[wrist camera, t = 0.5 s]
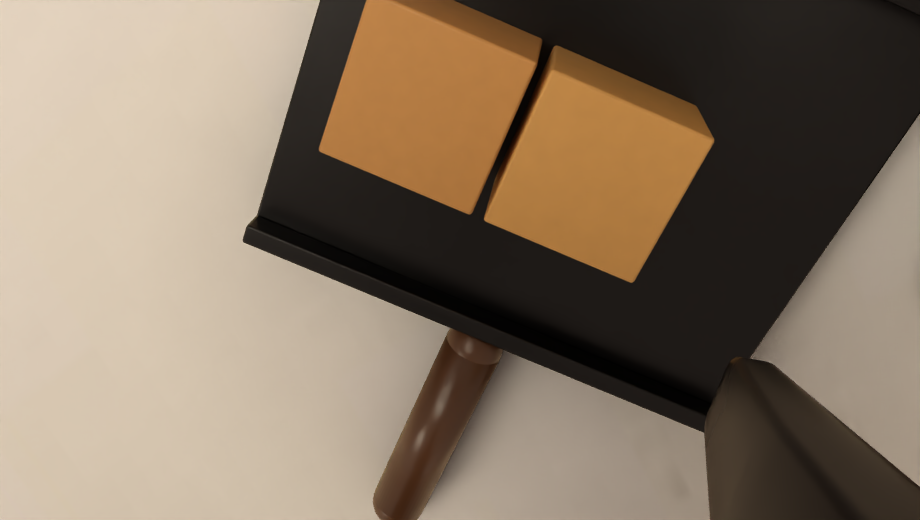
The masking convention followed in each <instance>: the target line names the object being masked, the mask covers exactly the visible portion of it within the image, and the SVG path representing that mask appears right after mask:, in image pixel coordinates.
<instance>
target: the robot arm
mask: <svg viewBox="0 0 920 520" xmlns="http://www.w3.org/2000/svg"><path fill="white" fill-rule="evenodd" d="M704 436H705V451H706V466H707V481H708V496H709V511H710V520H920V487H919V486H918V485H917V484H916V483H914V482H913V481H912V480H911V479H910V478H908V477H907V476H906V475H905V474H904V473H902V472H901V471H900V470H899V469H898V468H896V467H895V466H894V465H893V464H892V463H890V462H889V461H888V460H887V459H886V458H884V457H883V456H882V455H881V454H880V453H878V452H877V451H876V450H875V449H874V448H873V447H871V446H870V445H869V444H868V443H867V442H865V441H864V440H863V439H862V438H861V437H859V436H858V435H857V434H856V433H855V432H853V431H852V430H851V429H850V428H849V427H847V426H846V425H845V424H844V423H843V422H841V421H840V420H839V419H838V418H837V417H835V416H834V415H833V414H832V413H831V412H829V411H828V410H827V409H826V408H825V407H824V406H822V405H821V404H820V403H819V402H818V401H816V400H815V399H814V398H813V397H812V396H810V395H809V394H808V393H807V392H806V391H804V390H803V389H802V388H801V387H800V386H798V385H797V384H796V383H795V382H794V381H792V380H791V379H790V378H789V377H788V376H786V375H785V374H784V373H783V372H782V371H781V370H779V369H778V368H777V367H776V366H775V365H773V364H771V363H769V362H765V361H760V360H754V359H749V358H743V357H736V358H734V359H732V360H731V361H730V362H729V364H728V365H727V367H726V369H725V371H724V374H723V376H722V378H721V381H720V383H719V386H718V388H717V391H716V393H715V396H714V398H713V401H712V403H711V406H710V408H709V410H708V413H707V417H706V421H705V431H704Z"/></svg>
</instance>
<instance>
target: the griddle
mask: <svg viewBox="0 0 920 520" xmlns="http://www.w3.org/2000/svg"><path fill="white" fill-rule="evenodd" d="M454 1H456V2H458V3H461V4H463V5H465V6H467V7H470V8H472V9H474V10H477V11H479V12H481V13H484V14H486V15H488V16H491V17H493V18H495V19H497V20H500V21H502V22H504V23H507V24H509V25H511V26H514V27H516V28H518V29H520V30H523V31H525V32H527V33H530V34H532V35H534V36H537V37H539V38H541V39H542V46H541V50H540V54H539V59H538V63H537V67H536V69H535V71H534V73H533V76H532V78H531V80H530V83H529V85H528V87H527V89H526V92H525V94H524V96H523V98H522V101H521V103H520V105H519V108H518V110H517V112H516V114H515V117H514V119H513V121H512V124H511V126H510V128H509V130H508V133H507V135H506V137H505V139H504V142H503V144H502V146H501V149H500V151H499V153H498V155H497V158H496V160H495V162H494V165H493V167H492V169H491V171H490V174H489V176H488V178H487V180H486V183H485V185H484V187H483V190H482V192H481V194H480V196H479V199H478V201H477V203H476V205H475V208H474V210H473V212H472V213H471V214H466V213H464V212H462V211H459V210H457V209H454V208H452V207H450V206H447V205H445V204H443V203H440V202H438V201H435V200H433V199H431V198H428V197H426V196H424V195H421V194H419V193H417V192H414V191H412V190H409V189H407V188H405V187H402V186H400V185H398V184H395V183H393V182H390V181H388V180H386V179H383V178H381V177H379V176H376V175H374V174H371V173H369V172H367V171H364V170H362V169H360V168H357V167H355V166H352V165H350V164H348V163H345V162H343V161H341V160H338V159H336V158H333V157H331V156H329V155H326V154H324V153H322V152H320V151H319V146H320V143H321V140H322V137H323V134H324V131H325V128H326V125H327V121H328V118H329V115H330V112H331V109H332V106H333V103H334V100H335V96H336V93H337V90H338V87H339V84H340V81H341V78H342V75H343V72H344V68H345V65H346V62H347V59H348V56H349V53H350V50H351V47H352V44H353V40H354V37H355V34H356V31H357V28H358V25H359V22H360V19H361V16H362V12H363V9H364V6H365V3H366V0H320V3H319V6H318V9H317V13H316V16H315V20H314V23H313V26H312V30H311V33H310V37H309V40H308V43H307V47H306V50H305V54H304V57H303V60H302V64H301V67H300V71H299V74H298V77H297V81H296V84H295V88H294V91H293V94H292V98H291V101H290V105H289V108H288V112H287V115H286V118H285V122H284V125H283V129H282V132H281V135H280V139H279V142H278V146H277V149H276V152H275V156H274V159H273V163H272V166H271V169H270V173H269V176H268V180H267V183H266V186H265V190H264V193H263V197H262V200H261V203H260V207H259V210H258V214H257V216H256V217H255V218H254V219H253V220H252V221H251V222H250V223H249V224H248V225H247V227H246V230H245V234H244V237H243V242H244V243H247V244H249V245H251V246H254V247H256V248H259V249H261V250H263V251H266V252H268V253H271V254H273V255H276V256H278V257H280V258H283V259H285V260H288V261H290V262H292V263H295V264H297V265H300V266H302V267H305V268H307V269H309V270H312V271H314V272H317V273H319V274H321V275H324V276H326V277H329V278H331V279H334V280H336V281H338V282H341V283H343V284H346V285H348V286H350V287H353V288H355V289H358V290H360V291H363V292H365V293H367V294H370V295H372V296H375V297H377V298H379V299H382V300H384V301H387V302H389V303H392V304H394V305H396V306H399V307H401V308H404V309H406V310H408V311H411V312H413V313H416V314H418V315H421V316H423V317H425V318H428V319H430V320H433V321H435V322H437V323H440V324H442V325H445V326H447V327H450V330H449V331H448V333H447V335H446V337H445V340H444V342H443V344H442V346H441V348H440V350H439V353H438V355H437V357H436V359H435V361H434V363H433V366H432V368H431V370H430V372H429V374H428V377H427V379H426V381H425V383H424V385H423V387H422V390H421V392H420V394H419V396H418V398H417V400H416V403H415V405H414V407H413V409H412V411H411V414H410V416H409V418H408V420H407V422H406V424H405V427H404V429H403V431H402V433H401V435H400V437H399V440H398V442H397V444H396V446H395V448H394V450H393V453H392V455H391V457H390V459H389V461H388V464H387V466H386V468H385V470H384V472H383V474H382V477H381V479H380V481H379V483H378V485H377V487H376V490H375V493H374V497H373V505H374V509H375V512H376V514H377V516H378V517H379V518H380V520H417V519H418V518H419V517H420V515H421V514H422V512H423V510H424V508H425V506H426V504H427V502H428V500H429V498H430V496H431V494H432V492H433V490H434V488H435V486H436V484H437V482H438V480H439V478H440V476H441V474H442V472H443V470H444V469H445V467H446V465H447V463H448V461H449V459H450V457H451V455H452V453H453V451H454V449H455V447H456V445H457V443H458V441H459V439H460V437H461V435H462V433H463V431H464V429H465V427H466V425H467V423H468V421H469V419H470V417H471V415H472V413H473V411H474V410H475V408H476V406H477V404H478V402H479V400H480V398H481V396H482V394H483V392H484V390H485V388H486V386H487V384H488V382H489V380H490V378H491V376H492V374H493V372H494V370H495V368H496V366H497V364H498V362H499V360H500V358H501V355H502V353H503V350H505V351H508V352H510V353H512V354H515V355H517V356H520V357H522V358H525V359H527V360H529V361H532V362H534V363H537V364H539V365H541V366H544V367H546V368H549V369H551V370H554V371H556V372H558V373H561V374H563V375H566V376H568V377H570V378H573V379H575V380H578V381H580V382H583V383H585V384H587V385H590V386H592V387H595V388H597V389H599V390H602V391H604V392H607V393H609V394H612V395H614V396H616V397H619V398H621V399H624V400H626V401H628V402H631V403H633V404H636V405H638V406H641V407H643V408H645V409H648V410H650V411H653V412H655V413H657V414H660V415H662V416H665V417H667V418H670V419H672V420H674V421H677V422H679V423H682V424H684V425H686V426H689V427H691V428H694V429H696V430H699V431H701V432H703V433H704V431H705V421H706V417H707V413H708V410H709V408H710V406H711V403H712V401H713V398H714V396H715V393H716V391H717V388H718V386H719V383H720V381H721V378H722V376H723V374H724V371H725V369H726V367H727V365H728V364H729V362H730V361H731V360H732V359H734V358H736V357H743V358H750V357H751V355H752V354H753V353H754V351H755V350H756V348H757V347H758V345H759V344H760V342H761V341H762V340H763V338H764V337H765V335H766V334H767V332H768V331H769V330H770V328H771V327H772V325H773V324H774V322H775V321H776V319H777V318H778V317H779V315H780V314H781V312H782V311H783V309H784V308H785V307H786V305H787V304H788V302H789V301H790V299H791V298H792V296H793V295H794V294H795V292H796V291H797V289H798V288H799V286H800V285H801V284H802V282H803V281H804V279H805V278H806V276H807V275H808V273H809V272H810V271H811V269H812V268H813V266H814V265H815V263H816V262H817V260H818V259H819V258H820V256H821V255H822V253H823V252H824V250H825V249H826V248H827V246H828V245H829V243H830V242H831V240H832V239H833V237H834V236H835V235H836V233H837V232H838V230H839V229H840V227H841V226H842V225H843V223H844V222H845V220H846V219H847V217H848V216H849V214H850V213H851V212H852V210H853V209H854V207H855V206H856V204H857V203H858V202H859V200H860V199H861V197H862V196H863V194H864V193H865V191H866V190H867V189H868V187H869V186H870V184H871V183H872V181H873V180H874V179H875V177H876V176H877V174H878V173H879V171H880V170H881V168H882V167H883V166H884V164H885V163H886V161H887V160H888V158H889V157H890V156H891V154H892V153H893V151H894V150H895V148H896V147H897V145H898V144H899V143H900V141H901V140H902V138H903V137H904V135H905V134H906V133H907V131H908V130H909V128H910V127H911V125H912V124H913V122H914V121H915V120H916V118H917V117H918V115H919V114H920V0H454ZM554 46H560V47H562V48H564V49H567V50H569V51H571V52H574V53H576V54H578V55H581V56H583V57H585V58H587V59H590V60H592V61H594V62H597V63H599V64H601V65H604V66H606V67H608V68H610V69H613V70H615V71H617V72H620V73H622V74H624V75H627V76H629V77H631V78H633V79H636V80H638V81H640V82H643V83H645V84H647V85H650V86H652V87H654V88H657V89H659V90H661V91H663V92H666V93H668V94H670V95H673V96H675V97H677V98H680V99H682V100H684V101H686V102H689V103H691V104H693V105H696V107H697V108H698V110H699V112H700V113H701V115H702V117H703V119H704V121H705V123H706V125H707V127H708V129H709V130H710V132H711V134H712V136H713V138H714V143H713V145H712V147H711V149H710V150H709V152H708V154H707V155H706V157H705V159H704V161H703V162H702V164H701V166H700V168H699V169H698V171H697V173H696V175H695V176H694V178H693V180H692V182H691V183H690V185H689V187H688V189H687V190H686V192H685V194H684V195H683V197H682V199H681V201H680V202H679V204H678V206H677V208H676V209H675V211H674V213H673V215H672V216H671V218H670V220H669V222H668V223H667V225H666V227H665V228H664V230H663V232H662V234H661V235H660V237H659V239H658V241H657V242H656V244H655V246H654V248H653V249H652V251H651V253H650V255H649V256H648V258H647V260H646V261H645V263H644V265H643V267H642V268H641V270H640V272H639V274H638V275H637V277H636V279H635V281H634V282H632V283H630V282H628V281H626V280H623V279H621V278H618V277H616V276H614V275H611V274H609V273H607V272H604V271H602V270H599V269H597V268H595V267H592V266H590V265H588V264H585V263H583V262H580V261H578V260H576V259H573V258H571V257H569V256H566V255H564V254H561V253H559V252H557V251H554V250H552V249H550V248H547V247H545V246H542V245H540V244H538V243H535V242H533V241H531V240H528V239H526V238H523V237H521V236H519V235H516V234H514V233H512V232H509V231H507V230H505V229H502V228H500V227H497V226H495V225H493V224H490V223H488V222H486V221H485V220H484V216H485V213H486V209H487V205H488V202H489V198H490V195H491V191H492V188H493V184H494V181H495V178H496V175H497V173H498V171H499V169H500V166H501V164H502V162H503V160H504V157H505V155H506V153H507V151H508V148H509V146H510V144H511V142H512V139H513V137H514V135H515V133H516V130H517V128H518V126H519V124H520V121H521V119H522V117H523V115H524V112H525V110H526V108H527V106H528V103H529V101H530V99H531V97H532V94H533V92H534V90H535V88H536V85H537V83H538V81H539V79H540V76H541V74H542V72H543V70H544V67H545V65H546V63H547V61H548V58H549V56H550V54H551V52H552V49H553V47H554Z"/></svg>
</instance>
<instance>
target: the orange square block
mask: <svg viewBox="0 0 920 520" xmlns="http://www.w3.org/2000/svg"><path fill="white" fill-rule="evenodd" d="M541 46H542V39H541V38H539V37H537V36H534V35H532V34H530V33H527V32H525V31H523V30H520V29H518V28H516V27H514V26H511V25H509V24H507V23H504V22H502V21H500V20H497V19H495V18H493V17H491V16H488V15H486V14H484V13H481V12H479V11H477V10H474V9H472V8H470V7H467V6H465V5H463V4H461V3H458V2H456V1H454V0H366V3H365V6H364V9H363V12H362V16H361V19H360V22H359V25H358V28H357V31H356V34H355V37H354V40H353V44H352V47H351V50H350V53H349V56H348V59H347V62H346V65H345V68H344V72H343V75H342V78H341V81H340V84H339V87H338V90H337V93H336V96H335V100H334V103H333V106H332V109H331V112H330V115H329V118H328V121H327V125H326V128H325V131H324V134H323V137H322V140H321V143H320V146H319V151H320V152H322V153H324V154H326V155H329V156H331V157H333V158H336V159H338V160H341V161H343V162H345V163H348V164H350V165H352V166H355V167H357V168H360V169H362V170H364V171H367V172H369V173H371V174H374V175H376V176H379V177H381V178H383V179H386V180H388V181H390V182H393V183H395V184H398V185H400V186H402V187H405V188H407V189H409V190H412V191H414V192H417V193H419V194H421V195H424V196H426V197H428V198H431V199H433V200H435V201H438V202H440V203H443V204H445V205H447V206H450V207H452V208H454V209H457V210H459V211H462V212H464V213H466V214H471V213H472V212H473V210H474V208H475V205H476V203H477V201H478V199H479V196H480V194H481V192H482V190H483V187H484V185H485V183H486V180H487V178H488V176H489V174H490V171H491V169H492V167H493V165H494V162H495V160H496V158H497V155H498V153H499V151H500V149H501V146H502V144H503V142H504V139H505V137H506V135H507V133H508V130H509V128H510V126H511V124H512V121H513V119H514V117H515V114H516V112H517V110H518V108H519V105H520V103H521V101H522V98H523V96H524V94H525V92H526V89H527V87H528V85H529V83H530V80H531V78H532V76H533V73H534V71H535V69H536V67H537V63H538V59H539V54H540V50H541Z"/></svg>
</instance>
